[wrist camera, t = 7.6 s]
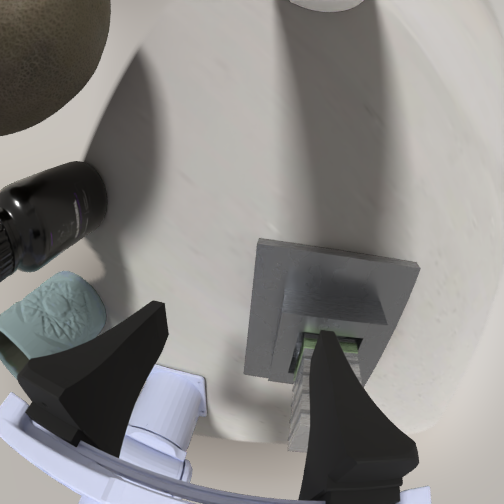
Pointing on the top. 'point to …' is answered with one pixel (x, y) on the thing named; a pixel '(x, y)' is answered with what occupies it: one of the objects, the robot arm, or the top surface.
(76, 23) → the cantaloupe
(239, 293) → the top surface
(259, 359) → the stand base
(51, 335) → the teal embossed planter pot
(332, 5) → the cylindrical container
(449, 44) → the top surface
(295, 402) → the column
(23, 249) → the supplement bottle
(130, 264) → the top surface
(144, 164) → the top surface
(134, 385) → the robot arm
